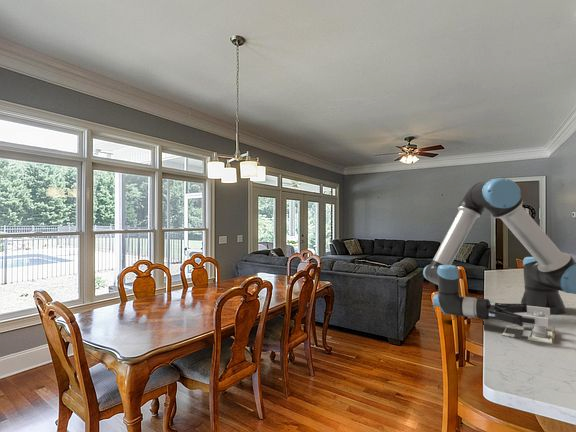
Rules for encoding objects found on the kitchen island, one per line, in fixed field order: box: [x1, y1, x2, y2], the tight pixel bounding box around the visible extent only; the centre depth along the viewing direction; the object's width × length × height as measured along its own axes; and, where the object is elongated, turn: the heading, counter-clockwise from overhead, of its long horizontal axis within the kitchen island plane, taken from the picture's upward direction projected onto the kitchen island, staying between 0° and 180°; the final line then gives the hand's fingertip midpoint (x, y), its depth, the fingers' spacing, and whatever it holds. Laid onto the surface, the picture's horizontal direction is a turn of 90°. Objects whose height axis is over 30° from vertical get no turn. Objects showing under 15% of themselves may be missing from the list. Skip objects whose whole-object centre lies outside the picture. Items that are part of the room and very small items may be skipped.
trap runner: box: [501, 324, 556, 345], centre depth 111 cm, size 12×14×2 cm
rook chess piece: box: [531, 311, 548, 338], centre depth 109 cm, size 4×4×8 cm
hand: (549, 317), depth 107 cm, fingers open, 13 cm apart
